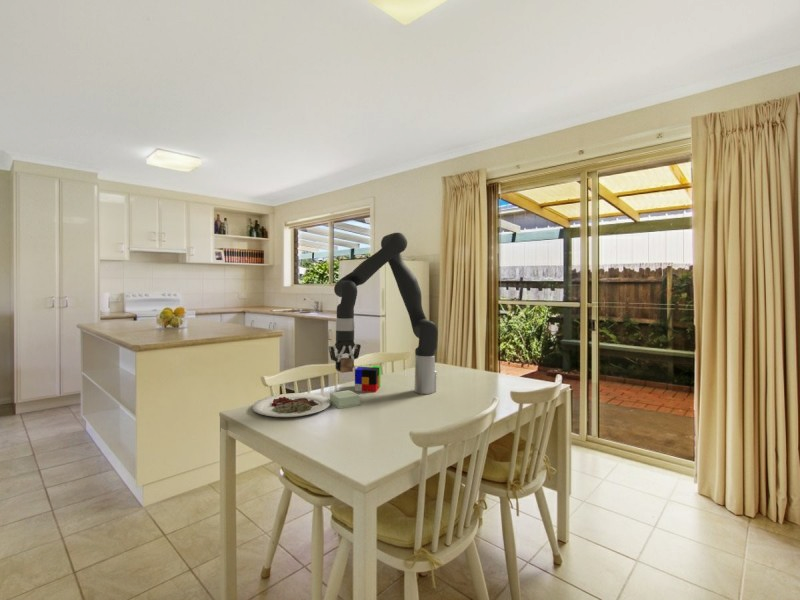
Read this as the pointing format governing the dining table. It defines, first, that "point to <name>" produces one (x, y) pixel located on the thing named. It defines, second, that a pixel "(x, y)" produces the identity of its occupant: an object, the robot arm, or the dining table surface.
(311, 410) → the plated food
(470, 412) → the dining table surface
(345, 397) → the pedestal
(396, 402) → the dining table surface
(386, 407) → the dining table surface
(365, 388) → the puzzle toy
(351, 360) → the walnut block
